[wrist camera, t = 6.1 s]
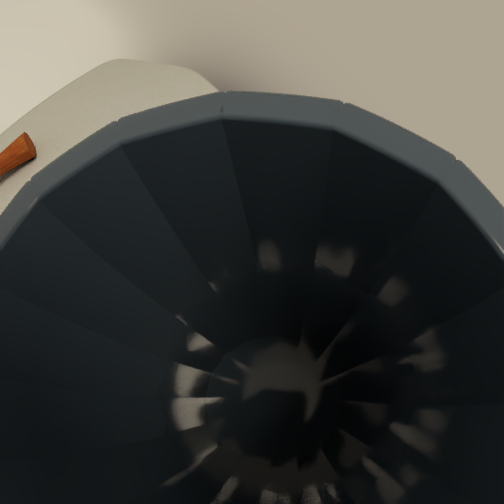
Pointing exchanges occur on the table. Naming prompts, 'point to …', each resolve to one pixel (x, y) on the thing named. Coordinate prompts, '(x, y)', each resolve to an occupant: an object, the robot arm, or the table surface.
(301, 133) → the cup
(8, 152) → the kendama
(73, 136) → the table surface
